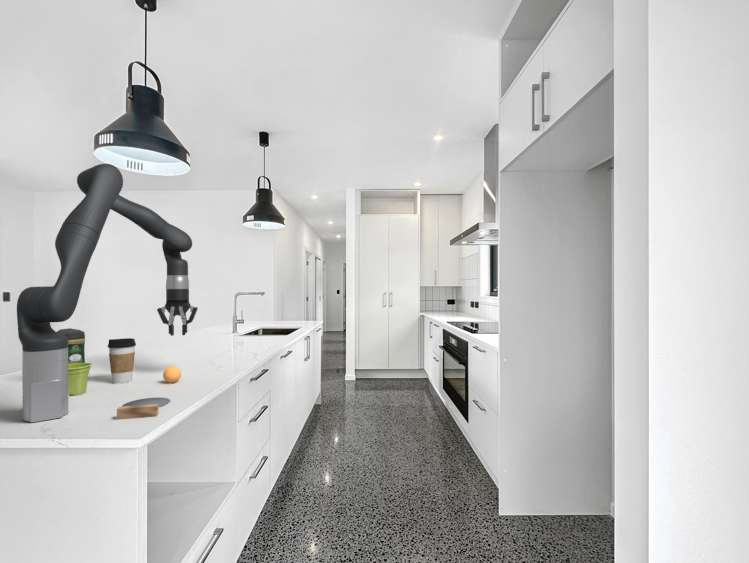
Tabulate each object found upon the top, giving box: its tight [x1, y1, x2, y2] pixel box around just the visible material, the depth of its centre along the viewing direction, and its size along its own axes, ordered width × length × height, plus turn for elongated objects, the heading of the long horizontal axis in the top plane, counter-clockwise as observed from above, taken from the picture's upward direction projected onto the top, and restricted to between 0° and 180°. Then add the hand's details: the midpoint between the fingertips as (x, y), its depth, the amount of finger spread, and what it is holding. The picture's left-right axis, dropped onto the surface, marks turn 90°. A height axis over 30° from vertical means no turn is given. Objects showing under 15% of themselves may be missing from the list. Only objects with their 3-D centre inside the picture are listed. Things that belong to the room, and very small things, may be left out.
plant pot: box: [68, 362, 93, 396], centre depth 128 cm, size 9×9×9 cm
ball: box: [162, 365, 182, 384], centre depth 142 cm, size 6×6×6 cm
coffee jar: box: [56, 328, 86, 364], centre depth 144 cm, size 10×8×19 cm
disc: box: [121, 397, 171, 408], centre depth 116 cm, size 12×12×1 cm
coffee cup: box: [107, 337, 137, 384], centre depth 143 cm, size 8×8×15 cm
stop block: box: [116, 404, 160, 420], centre depth 105 cm, size 9×2×3 cm, turn 104°
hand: (177, 334), depth 151 cm, fingers open, 3 cm apart
